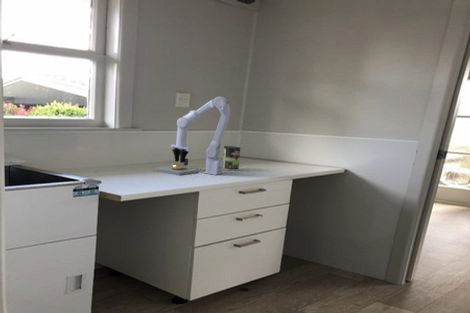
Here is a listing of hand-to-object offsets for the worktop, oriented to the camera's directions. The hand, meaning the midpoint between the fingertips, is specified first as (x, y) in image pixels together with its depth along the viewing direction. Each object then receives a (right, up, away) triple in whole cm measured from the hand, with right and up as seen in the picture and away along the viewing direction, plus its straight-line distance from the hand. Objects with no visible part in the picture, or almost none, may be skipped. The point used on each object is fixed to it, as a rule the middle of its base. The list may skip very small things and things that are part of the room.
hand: (179, 162), depth 267 cm
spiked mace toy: (+1, -4, -4) cm, 6 cm away
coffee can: (+29, -5, +19) cm, 35 cm away
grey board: (-1, -5, -6) cm, 8 cm away
